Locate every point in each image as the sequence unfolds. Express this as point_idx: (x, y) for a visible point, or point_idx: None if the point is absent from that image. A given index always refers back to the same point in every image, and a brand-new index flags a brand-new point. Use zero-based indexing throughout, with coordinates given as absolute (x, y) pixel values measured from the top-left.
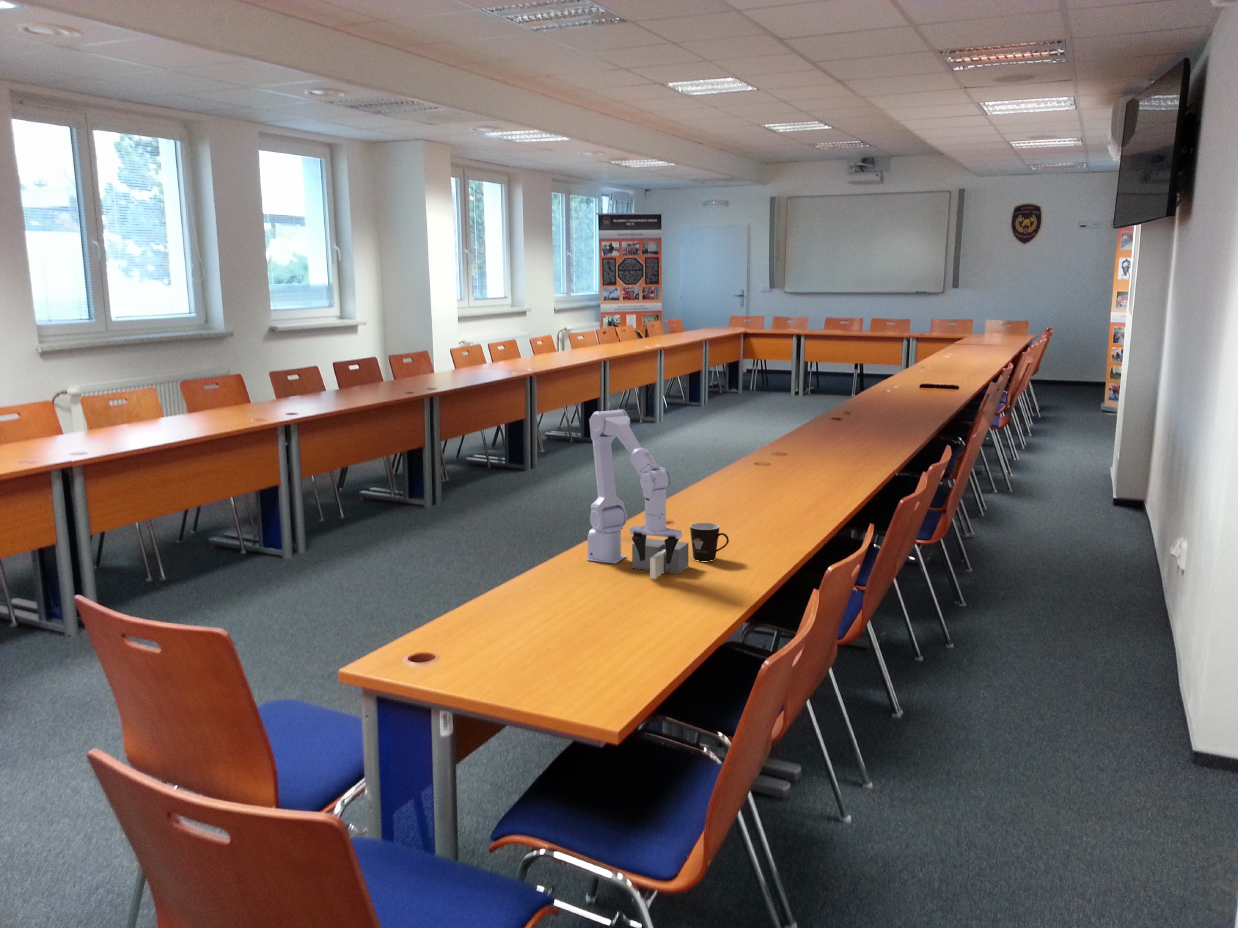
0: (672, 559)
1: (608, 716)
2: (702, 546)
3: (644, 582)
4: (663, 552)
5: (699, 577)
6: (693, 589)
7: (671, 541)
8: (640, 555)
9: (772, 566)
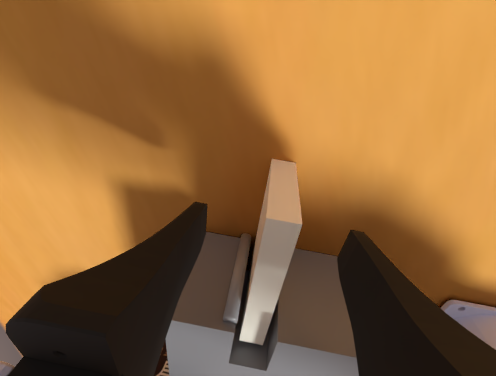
0: (212, 277)
1: None
2: (155, 370)
3: (314, 99)
4: (247, 308)
5: (122, 208)
6: (57, 43)
7: (25, 309)
8: (373, 251)
9: (18, 304)
